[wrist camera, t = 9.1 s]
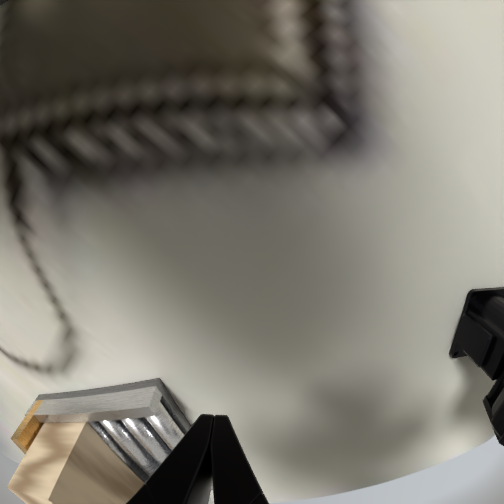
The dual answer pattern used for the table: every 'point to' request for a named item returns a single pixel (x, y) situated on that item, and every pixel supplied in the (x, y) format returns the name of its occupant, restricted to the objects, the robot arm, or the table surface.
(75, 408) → the roller conveyor
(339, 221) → the table surface
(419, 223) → the table surface
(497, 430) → the robot arm
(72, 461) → the beige box
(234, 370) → the table surface
